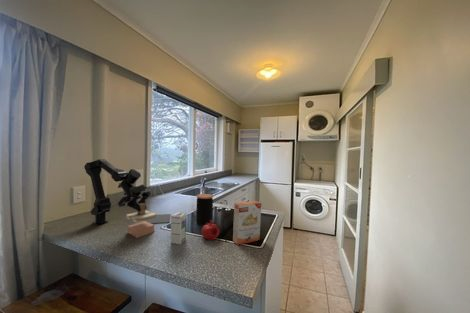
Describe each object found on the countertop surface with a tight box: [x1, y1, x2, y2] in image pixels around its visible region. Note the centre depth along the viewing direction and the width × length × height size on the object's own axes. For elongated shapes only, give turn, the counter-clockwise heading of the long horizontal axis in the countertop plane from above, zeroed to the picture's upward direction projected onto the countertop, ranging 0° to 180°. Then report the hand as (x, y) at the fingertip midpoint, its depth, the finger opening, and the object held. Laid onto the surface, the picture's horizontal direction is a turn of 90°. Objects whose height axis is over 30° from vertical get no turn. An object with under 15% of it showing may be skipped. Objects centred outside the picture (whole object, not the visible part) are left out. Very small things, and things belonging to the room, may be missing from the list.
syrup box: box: [170, 211, 187, 245], centre depth 103 cm, size 6×6×14 cm
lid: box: [125, 202, 157, 224], centre depth 112 cm, size 11×11×8 cm
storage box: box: [127, 221, 155, 239], centre depth 113 cm, size 10×10×4 cm
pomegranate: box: [201, 220, 220, 241], centre depth 109 cm, size 10×10×9 cm
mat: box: [146, 213, 172, 225], centre depth 134 cm, size 16×16×1 cm
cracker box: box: [232, 200, 262, 246], centre depth 106 cm, size 14×6×21 cm, turn 117°
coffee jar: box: [195, 193, 214, 226], centre depth 131 cm, size 11×11×18 cm
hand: (143, 210), depth 112 cm, fingers closed on lid, 3 cm apart
